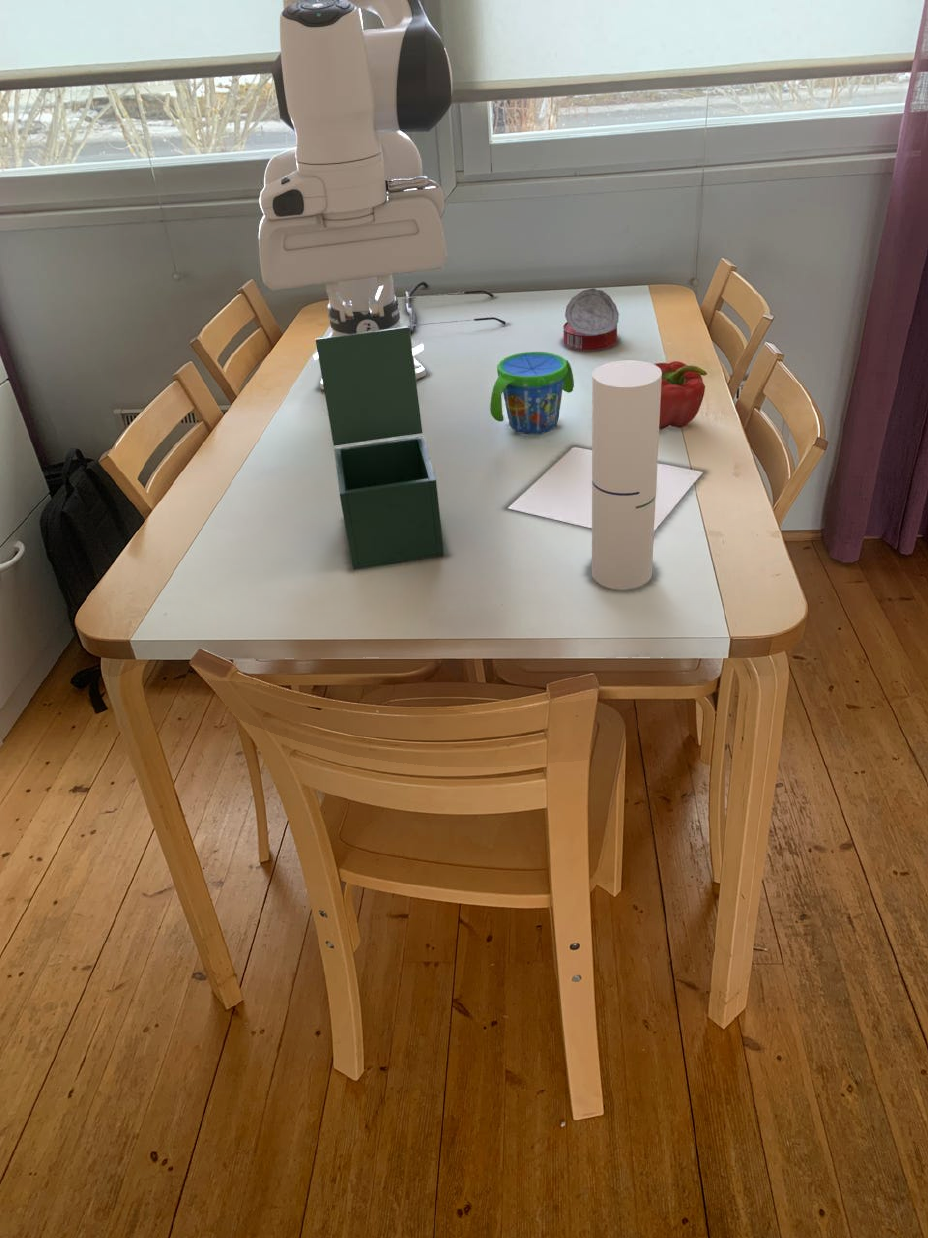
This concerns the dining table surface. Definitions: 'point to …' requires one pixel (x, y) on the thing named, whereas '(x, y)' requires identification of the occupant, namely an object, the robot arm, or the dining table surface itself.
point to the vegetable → (680, 393)
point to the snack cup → (531, 390)
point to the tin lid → (370, 385)
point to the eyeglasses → (452, 321)
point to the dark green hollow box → (389, 502)
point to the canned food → (591, 321)
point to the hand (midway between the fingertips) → (362, 317)
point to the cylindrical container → (624, 471)
